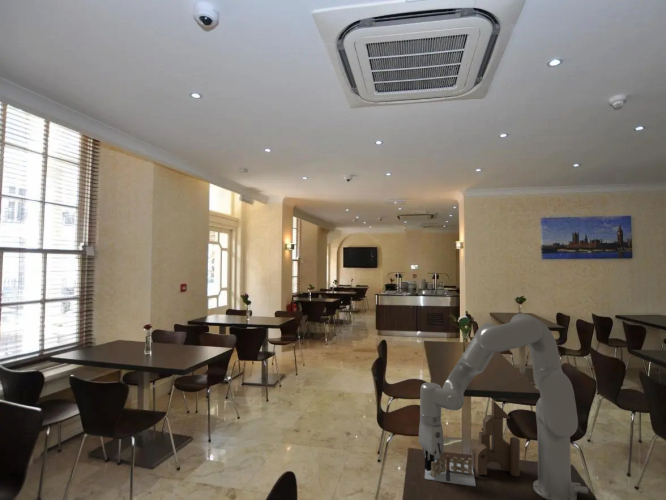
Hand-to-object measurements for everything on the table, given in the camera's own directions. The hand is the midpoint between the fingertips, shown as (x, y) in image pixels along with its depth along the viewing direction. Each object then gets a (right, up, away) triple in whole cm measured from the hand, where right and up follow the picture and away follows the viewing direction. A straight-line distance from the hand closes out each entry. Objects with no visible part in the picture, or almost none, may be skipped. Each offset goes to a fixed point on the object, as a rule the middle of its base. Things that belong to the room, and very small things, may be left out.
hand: (429, 469), depth 140 cm
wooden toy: (+25, -2, +1) cm, 25 cm away
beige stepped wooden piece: (+4, -1, -1) cm, 4 cm away
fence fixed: (+11, -2, 0) cm, 12 cm away
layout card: (+7, -2, +1) cm, 8 cm away
